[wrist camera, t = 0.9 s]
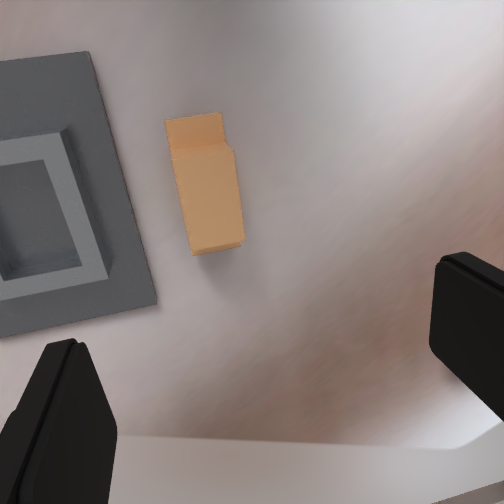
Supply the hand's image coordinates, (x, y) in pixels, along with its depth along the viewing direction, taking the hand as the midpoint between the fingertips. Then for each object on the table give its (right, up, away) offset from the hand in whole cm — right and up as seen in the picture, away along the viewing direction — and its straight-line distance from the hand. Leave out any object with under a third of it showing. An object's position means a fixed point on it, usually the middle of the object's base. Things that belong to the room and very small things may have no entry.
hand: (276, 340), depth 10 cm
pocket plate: (-17, +6, +19) cm, 26 cm away
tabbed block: (-5, +8, +21) cm, 23 cm away
